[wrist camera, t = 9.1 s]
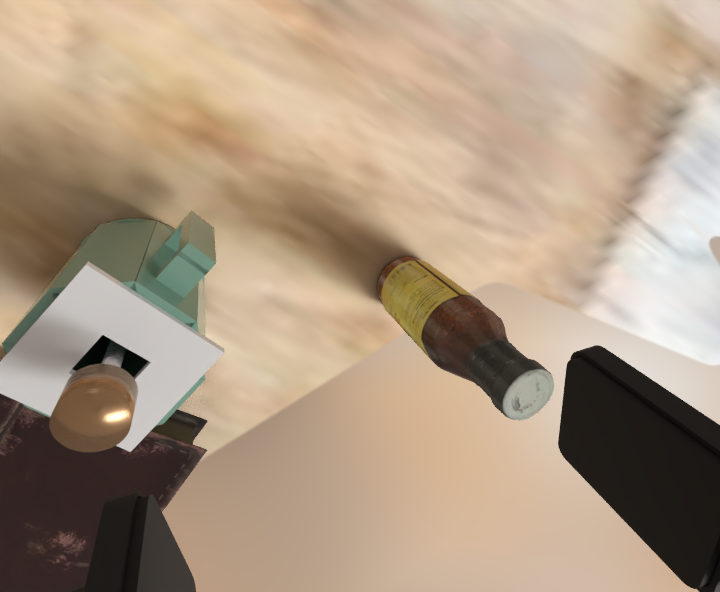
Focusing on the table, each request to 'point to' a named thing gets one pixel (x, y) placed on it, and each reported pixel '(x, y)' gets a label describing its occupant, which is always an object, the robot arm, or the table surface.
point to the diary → (74, 493)
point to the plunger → (96, 405)
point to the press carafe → (121, 319)
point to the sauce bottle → (463, 336)
